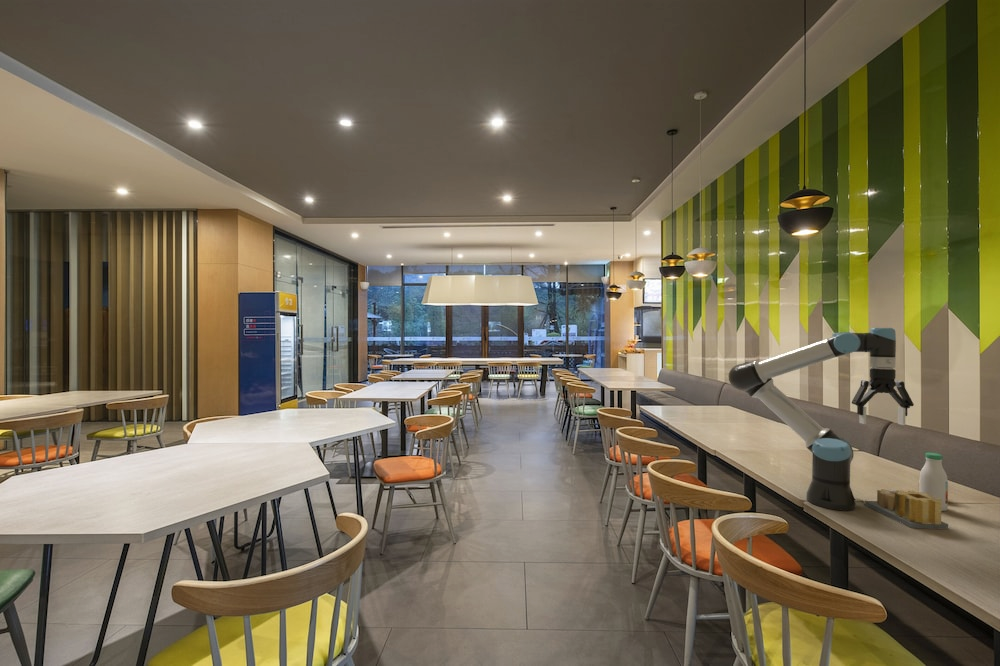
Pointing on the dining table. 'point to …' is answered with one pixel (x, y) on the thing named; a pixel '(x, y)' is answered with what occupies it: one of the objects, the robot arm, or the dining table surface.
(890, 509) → the gear board
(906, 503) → the gear
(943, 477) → the milk bottle
